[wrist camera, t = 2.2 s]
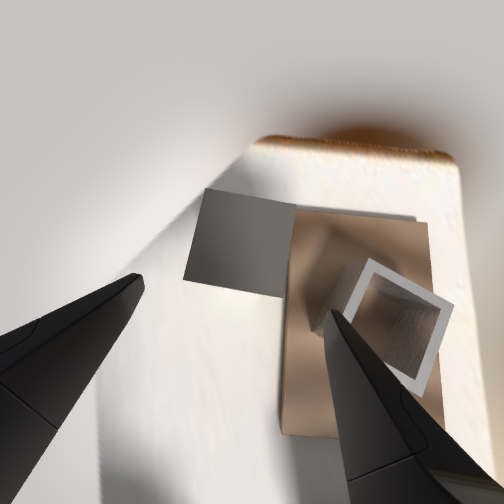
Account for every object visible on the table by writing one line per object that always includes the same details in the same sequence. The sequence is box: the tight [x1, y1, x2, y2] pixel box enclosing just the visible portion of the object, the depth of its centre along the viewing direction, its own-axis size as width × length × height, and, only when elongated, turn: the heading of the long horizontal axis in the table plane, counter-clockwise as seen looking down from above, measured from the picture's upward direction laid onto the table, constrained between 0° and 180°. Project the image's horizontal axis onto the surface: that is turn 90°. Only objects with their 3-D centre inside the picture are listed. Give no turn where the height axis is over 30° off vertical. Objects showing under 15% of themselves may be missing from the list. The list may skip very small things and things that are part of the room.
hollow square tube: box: [312, 258, 454, 397], centre depth 17 cm, size 7×7×4 cm
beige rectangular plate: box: [280, 210, 445, 439], centre depth 19 cm, size 20×14×1 cm
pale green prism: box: [183, 188, 296, 298], centre depth 14 cm, size 4×4×13 cm
